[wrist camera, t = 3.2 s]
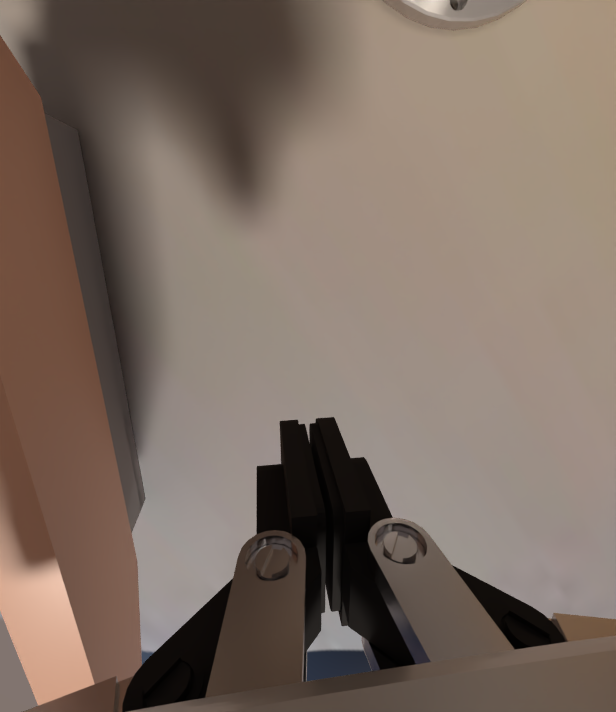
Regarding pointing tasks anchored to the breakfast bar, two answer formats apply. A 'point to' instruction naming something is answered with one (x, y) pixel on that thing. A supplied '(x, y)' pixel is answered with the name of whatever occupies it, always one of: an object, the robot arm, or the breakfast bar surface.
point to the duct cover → (54, 434)
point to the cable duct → (97, 306)
